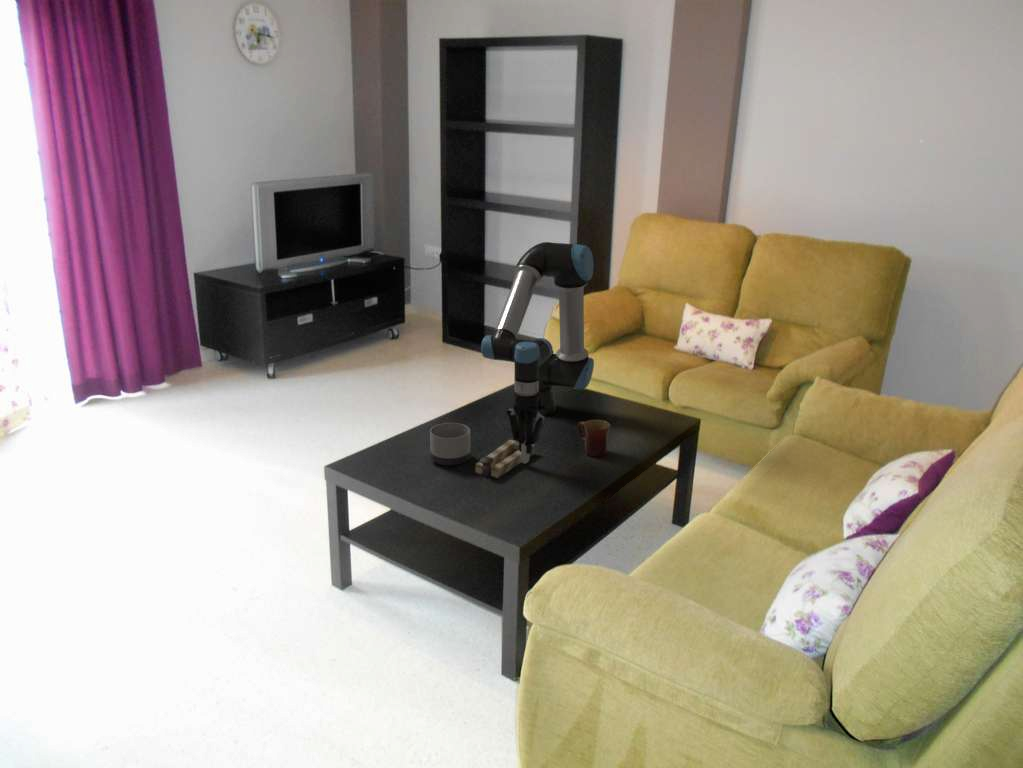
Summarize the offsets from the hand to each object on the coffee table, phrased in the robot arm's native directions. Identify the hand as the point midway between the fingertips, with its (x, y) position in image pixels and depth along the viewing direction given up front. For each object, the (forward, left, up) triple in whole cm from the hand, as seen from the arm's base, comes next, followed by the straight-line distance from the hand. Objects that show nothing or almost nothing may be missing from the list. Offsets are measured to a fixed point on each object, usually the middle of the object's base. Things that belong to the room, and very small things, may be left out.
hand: (525, 461), depth 266 cm
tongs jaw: (+1, -4, -1) cm, 4 cm away
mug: (-21, +14, -2) cm, 25 cm away
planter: (+8, -23, -2) cm, 25 cm away
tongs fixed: (+2, -8, -2) cm, 9 cm away
